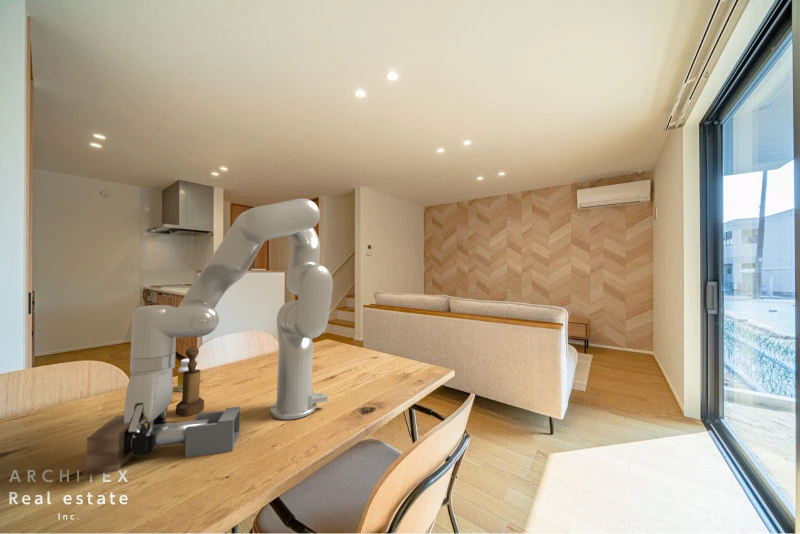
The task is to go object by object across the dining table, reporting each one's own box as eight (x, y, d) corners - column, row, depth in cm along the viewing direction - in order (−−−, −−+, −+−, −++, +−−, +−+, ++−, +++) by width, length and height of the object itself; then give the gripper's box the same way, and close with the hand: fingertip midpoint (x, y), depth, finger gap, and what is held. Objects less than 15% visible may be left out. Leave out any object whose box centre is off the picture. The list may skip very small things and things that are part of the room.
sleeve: (239, 435, 71) (240, 406, 71) (232, 451, 65) (233, 419, 65) (196, 440, 68) (197, 410, 69) (184, 457, 62) (186, 425, 62)
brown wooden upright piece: (209, 408, 84) (211, 345, 85) (186, 418, 78) (189, 351, 79) (193, 404, 86) (195, 343, 87) (169, 414, 80) (172, 348, 81)
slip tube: (210, 434, 69) (211, 413, 69) (202, 447, 64) (203, 424, 64) (120, 445, 64) (121, 422, 64) (104, 460, 59) (105, 434, 59)
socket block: (142, 444, 66) (144, 413, 66) (117, 470, 58) (119, 434, 58) (115, 447, 65) (116, 415, 65) (85, 474, 56) (87, 437, 56)
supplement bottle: (189, 392, 95) (190, 362, 95) (172, 391, 95) (174, 361, 95) (200, 385, 100) (201, 357, 100) (185, 385, 100) (186, 357, 100)
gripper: (153, 353, 70) (149, 429, 70) (105, 377, 54) (101, 476, 54) (189, 351, 73) (186, 425, 72) (154, 374, 56) (150, 469, 56)
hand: (150, 446), depth 63 cm, fingers closed on slip tube, 4 cm apart
